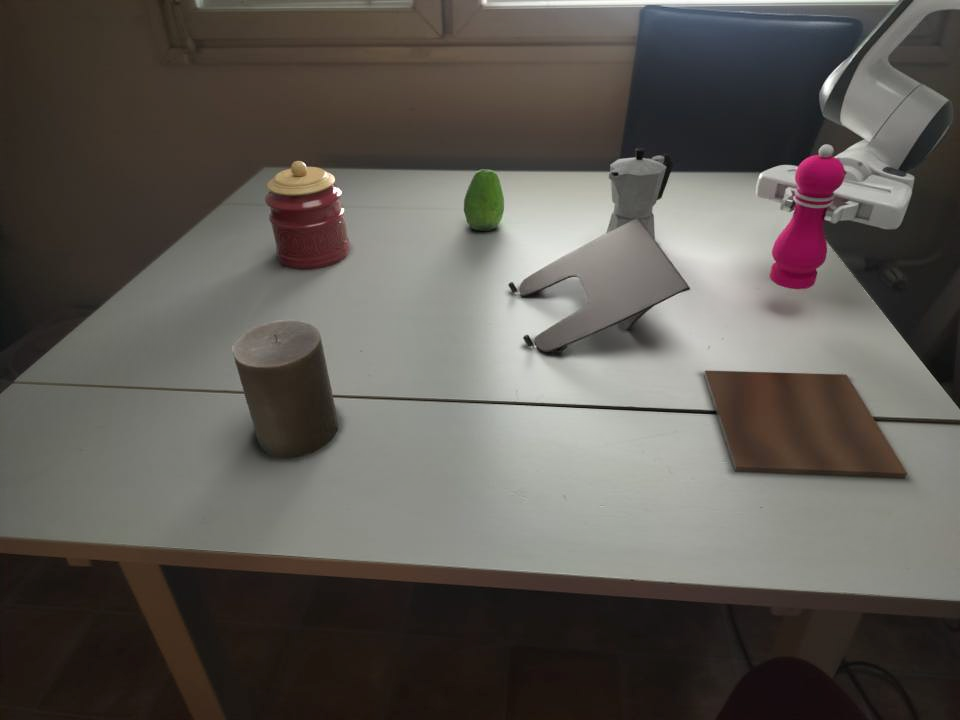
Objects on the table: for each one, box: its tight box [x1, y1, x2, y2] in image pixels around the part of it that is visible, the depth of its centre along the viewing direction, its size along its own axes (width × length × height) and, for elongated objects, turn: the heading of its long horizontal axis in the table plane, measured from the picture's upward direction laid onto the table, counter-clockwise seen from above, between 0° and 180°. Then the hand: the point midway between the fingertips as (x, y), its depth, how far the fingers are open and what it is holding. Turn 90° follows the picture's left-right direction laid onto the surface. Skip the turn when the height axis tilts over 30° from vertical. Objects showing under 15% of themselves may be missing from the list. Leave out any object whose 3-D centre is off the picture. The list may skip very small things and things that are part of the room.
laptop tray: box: [507, 218, 691, 355], centre depth 100 cm, size 23×23×9 cm
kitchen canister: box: [264, 160, 351, 270], centre depth 117 cm, size 13×13×18 cm
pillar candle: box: [230, 318, 340, 459], centre depth 77 cm, size 10×10×15 cm
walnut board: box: [703, 370, 908, 479], centre depth 80 cm, size 18×18×2 cm
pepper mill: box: [769, 143, 845, 290], centre depth 93 cm, size 7×7×20 cm
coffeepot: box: [605, 147, 674, 241], centre depth 117 cm, size 15×9×18 cm, turn 126°
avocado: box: [463, 168, 505, 232], centre depth 126 cm, size 8×8×12 cm
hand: (807, 211), depth 92 cm, fingers closed on pepper mill, 5 cm apart
